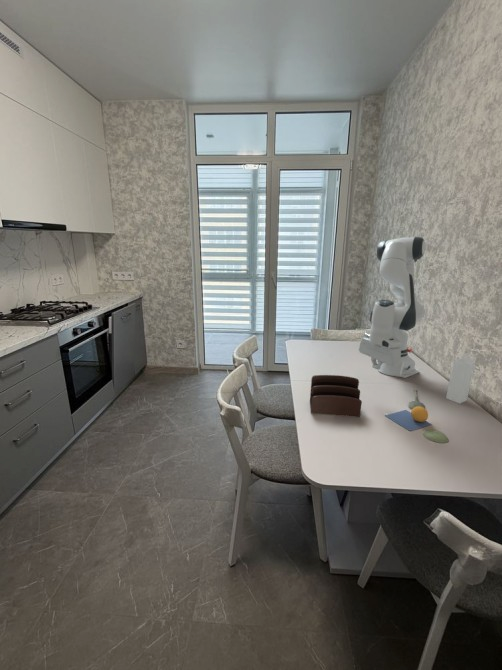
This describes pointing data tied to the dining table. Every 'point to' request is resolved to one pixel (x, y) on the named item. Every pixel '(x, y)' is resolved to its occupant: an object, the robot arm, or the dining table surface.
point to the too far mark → (435, 436)
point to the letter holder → (335, 395)
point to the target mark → (407, 420)
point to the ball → (419, 414)
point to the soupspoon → (415, 402)
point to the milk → (460, 379)
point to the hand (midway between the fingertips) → (376, 368)
